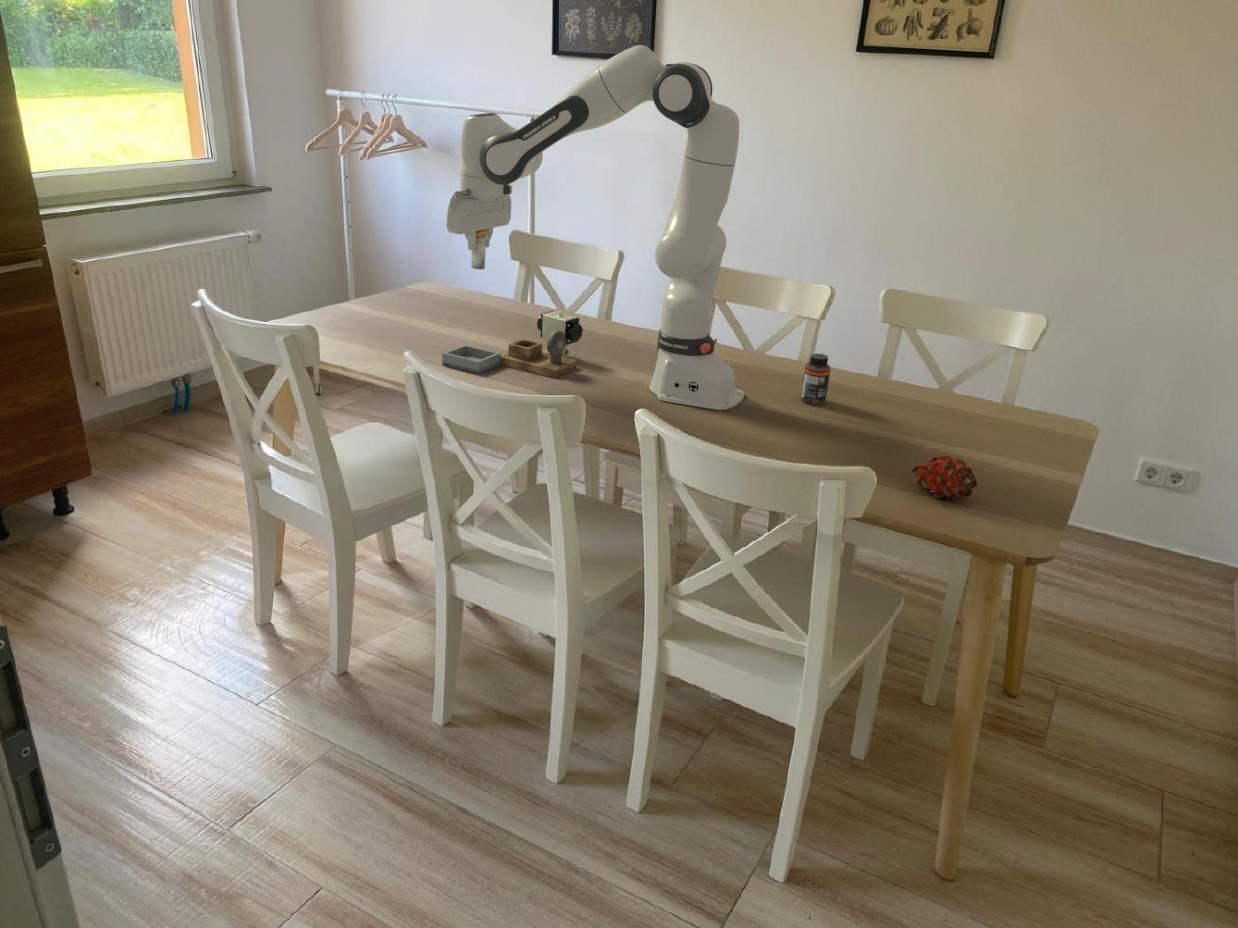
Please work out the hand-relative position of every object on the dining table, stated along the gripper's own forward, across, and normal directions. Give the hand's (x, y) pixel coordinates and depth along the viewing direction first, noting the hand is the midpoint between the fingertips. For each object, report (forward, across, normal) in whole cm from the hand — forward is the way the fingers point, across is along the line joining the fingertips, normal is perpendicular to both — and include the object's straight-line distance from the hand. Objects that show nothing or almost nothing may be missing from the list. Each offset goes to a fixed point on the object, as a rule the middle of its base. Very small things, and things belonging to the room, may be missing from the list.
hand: (478, 248), depth 212 cm
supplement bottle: (+26, +28, -78) cm, 87 cm away
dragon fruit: (+26, -7, -114) cm, 117 cm away
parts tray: (+29, -2, 0) cm, 29 cm away
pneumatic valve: (+28, +18, -13) cm, 36 cm away
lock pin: (+5, 0, 0) cm, 5 cm away
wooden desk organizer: (+28, +8, -13) cm, 32 cm away
